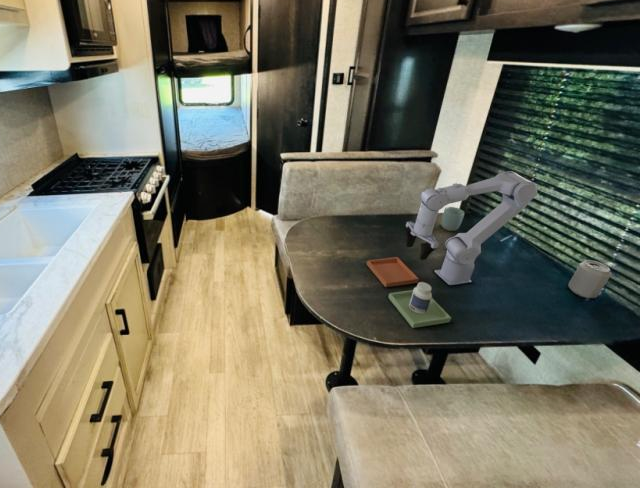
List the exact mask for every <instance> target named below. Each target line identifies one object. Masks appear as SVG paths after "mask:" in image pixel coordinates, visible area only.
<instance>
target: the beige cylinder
mask: <svg viewBox="0 0 640 488" xmlns="http://www.w3.org/2000/svg"><path fill="white" fill-rule="evenodd" d="M611 276H612V273H611V268H610V267H609V266H608V265H605V264H604V263H602V262H599V261H596V260H592V259H591V260H590V259H586V260H584V261H583V262H580V263H579V265H578V266H577V268H576V270H575V272H574V274H573V276H572V277H571V279H570V280H569V282H568V285H567V286H568V288H569V289H570V291H571V292H573V293H574V294H576V295H578V296H579V297H583V298H587V299H595V298H597V297H598V296H599V295H600V293H601V292H602V290H603V289H604V288H605V286H606V284H607V283H608V281H609V280H610V278H611Z"/></svg>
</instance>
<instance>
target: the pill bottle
mask: <svg viewBox="0 0 640 488" xmlns="http://www.w3.org/2000/svg"><path fill="white" fill-rule="evenodd" d="M412 290H413V293H412V296H411V300H410V303H409V307H410V309H411V310H412V311H414V312H416V313H418V314H425V313H426V312H427V309H428V306H429V304H430V301H431V298H433V294H432V286H431V285H430V284H429V283H427V282H424V281H418V283H417V285H416V286H415V287H413V289H412Z"/></svg>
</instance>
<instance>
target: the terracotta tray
mask: <svg viewBox="0 0 640 488" xmlns="http://www.w3.org/2000/svg"><path fill="white" fill-rule="evenodd" d="M366 266H367V267H368V268H369V270H370V271H371V272H372V273H373V274H374V276H375V277H376V278H377V279H378V280H379V281H380V283H381V284H382V285H383V286H384V288H389V287H399V286H405V285H412V284H418V283H419V277H418V276H417V275H416V274H415V273H414V272H413V271H412V270H411V269H410V268H409V267H408V266H407V265H406V264H405V263H404V262H403V261H402V260H401V259H400V258H399V257H398V256H394V257H386V258H377V259H369V260H367V261H366Z"/></svg>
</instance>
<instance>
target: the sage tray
mask: <svg viewBox="0 0 640 488" xmlns="http://www.w3.org/2000/svg"><path fill="white" fill-rule="evenodd" d="M413 290H414V289H409V290H402V291H395V292H390V293H389V294H388V300H389V301H390V302H391V303H392V304H393V306H394V307H395V308H396V309H397V311H398V312H399V314H401V315H402V317H403V318H404V319H405V320H406V322H407V323H408V324H409V326H411V328H412V329H415V328H422V327H428V326H434V325H440V324H447V323H450V322H451V320H452V316H451V315H449V313H448V312H447V311H445V309H444V308H443V307H442V306H440V304H438V302H437V301H436V300H435V299H434V298H433V297H432V298H431V301H430V304H429V306H428V309H427V312H426V313H425V314H418V313H416V312H414V311H412V310H411V309H410V307H409V303H410V300H411V296H412V293H413Z"/></svg>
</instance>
